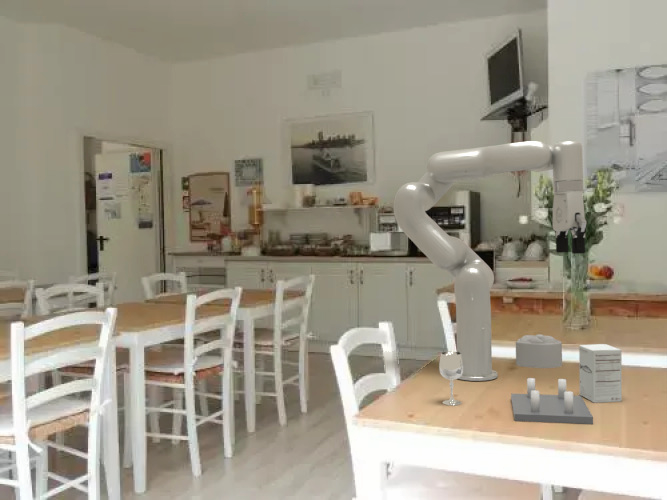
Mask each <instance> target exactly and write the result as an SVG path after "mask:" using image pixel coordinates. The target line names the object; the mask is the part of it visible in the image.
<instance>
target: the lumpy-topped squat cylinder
mask: <svg viewBox="0 0 667 500" xmlns="http://www.w3.org/2000/svg"><path fill="white" fill-rule="evenodd" d="M562 343H563V342H562V341H560V340H559V339H556V338H555V337H553V336H552V335H545V334H541V333H540V334H538V333H537V334H535V335H534V334H533V335H532V334H526V335H522V336H521V338H520V337H519V338H518V340H516V342H515V366H517V365H518V367H522V368H524V367H525V368H533V369H534V368H535V369H536V368H537V369H553V368H555V367H556V368H561V367H563V345H562ZM560 366H561V367H560Z"/></svg>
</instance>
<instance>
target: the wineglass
mask: <svg viewBox="0 0 667 500" xmlns="http://www.w3.org/2000/svg"><path fill="white" fill-rule="evenodd" d="M463 369H464V366H463V359H462V355H461V353H460V352H457V351H450V350H449V351H442V352H440V357H439V363H438V370H439V373H440V375H441V377H443V378H444V379H446V380H449V388H450V398H449V399H446V400H443V401H442V404H443V405H446V406H460V405H461V404H462V402H461V401H460V400H456V399H455V398H454V394H453V393H454V392H453V391H454V384H455V382H454V380H457V378H459V377H461V375H462V374H463Z"/></svg>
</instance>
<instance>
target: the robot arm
mask: <svg viewBox="0 0 667 500" xmlns="http://www.w3.org/2000/svg"><path fill="white" fill-rule="evenodd" d="M583 164H584V163H583V145H582V143H581V142H580V141H578V140H564V141H563V140H562V141H558V142H556V143H554V144H547V143H545V142H544V141H540V140H528V141H527V140H526V141H518V142H517V141H516V142H512V143H511V142H510V143H504V144H498V145H488V146H482V147H474V148H473V147H472V148H463V149H456V150H455V149H454V150H446V151H439V152H436V153H434V154H432V155H431V156H430V157H429V159H428V161H427V164H426V172H425V173H424V174H423V176H421V178H420V179H418V181H417V182H416V181H411V182H407V183H405V184H402V185H401V186H400V187H399V189H398V190H397V192H396V194H395V196H394V201H393V215H394V218H395V221H396V223H397V225H398V227H399V229H401V230H402V232H403V234H405V236H407V237H408V238H409V240H411V242H413V244H414V245H415V246H416V247H417V248H418V249H419V250H420V251H421V253H423V254H424V255H425V256H426V258H428V260H429V261H430V262H431V263H432V264H433V265H434V266H435V267H436V268H438V269H440V270H443V271H447V272H449V274H450V275H451V276H452V277H453V278H454V282H453V283H454V285H453V287H454V297H455V298H454V299H455V319H456V321H455V323H456V352H460V353H461V355H462V359H463V366H464V369H463V374H462V375H461V377H459V378H457V379H458V380H462V381H470V382H471V381H473V382H485V381H492V380H495V379H496V378H498V377H499V376H498V374H499V373H498V372H497V371H496V370H494V369H493V367H492V365H493V363H492V359H493V357H492V310H491V309H492V307H491V306H492V305H491V289H492V287H493V285H494V283H495V275H494V271H493V270H492V269H491V267H490V266H489V265H488V264H487V263H486V262H485V261H484V260H483V259H482V258H481V257H480V256H479V255H478V254H477V253H476V252H475V251H474V250H473V249H472V248H471V247H470V246H469V245H468V244H467V243H465V241H463V240H462V239H460V238H458V237H457V236H452V235H449V234H448V233H447V232H446V231H445V230H444V229H443V228H442V227H440V226H439V224H437V222H436V221H435V220H434V219H432V218H431V217H430V216H429V215H428V214H427V211H429V210H431V208H433V207H434V206H435V205H436V203H437V202H438V201H440V199H441V198H442V197H443V196H444V195H445V194H446V193H447V192H448V190H450V188H452V186H453V185H454V183H456V182H457V181H466V180H467V181H468V180H469V181H470V180H479V179H487V178H491V177H493V176H495V175H498V174H505V173H510V172H518V171H520V172H521V171H522V172H523V171H532V172H535V173H537V172H538V173H541V172H545V171H551V170H552V183H553V185H552V186H553V187H552V188H553V190H552V191H553V200H552V201H553V202H552V229H553V231H554V233H555V252H556V253H569V237H567V236H568V232H569V231H570V233H571V235H572V238H571V253H572V254H575V255H576V254H585V252H586V242H585V240H586V239H585V238H586V231H587V230H586V227H587V220H586V218H585V206H584V205H585V204H584V197H583V194H584V168H583V167H584V165H583ZM457 379H456V380H457Z"/></svg>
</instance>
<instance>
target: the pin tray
mask: <svg viewBox="0 0 667 500" xmlns="http://www.w3.org/2000/svg"><path fill="white" fill-rule="evenodd" d="M557 383H558V384H557V386H558V387H557V393H558V394H543V393H542V394H540V390H536V378H533V377H527V379H526V385H527V386H526V389H527V390H526V391H527V393H511V395H510V400H511V405H512V413H513V419H514V421H515V422H529V423H530V422H536V423H557V424H560V423H561V424H578V425H579V424H583V425H586V424H587V425H594V417H593V415H592V412H591V411H590V409H589V407H588V406H587V404H586V403H585V400H584V399H583V396H581V395H576V394H575V395H574V392H573V391H570V390H567V379H565V378H558V379H557Z"/></svg>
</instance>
